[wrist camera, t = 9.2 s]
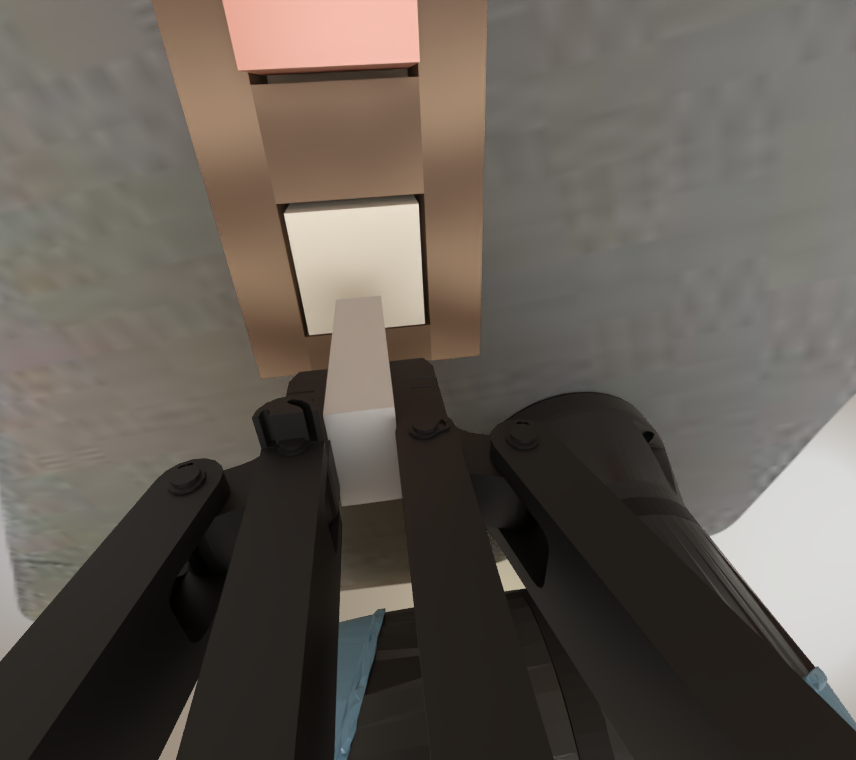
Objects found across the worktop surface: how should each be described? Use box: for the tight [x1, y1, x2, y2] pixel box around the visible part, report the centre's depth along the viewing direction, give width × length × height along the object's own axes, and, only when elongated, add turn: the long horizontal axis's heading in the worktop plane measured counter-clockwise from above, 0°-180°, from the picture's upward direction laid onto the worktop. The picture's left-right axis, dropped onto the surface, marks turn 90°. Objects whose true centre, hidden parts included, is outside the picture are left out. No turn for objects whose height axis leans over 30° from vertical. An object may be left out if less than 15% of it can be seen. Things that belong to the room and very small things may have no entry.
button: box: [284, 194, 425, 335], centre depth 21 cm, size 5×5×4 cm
